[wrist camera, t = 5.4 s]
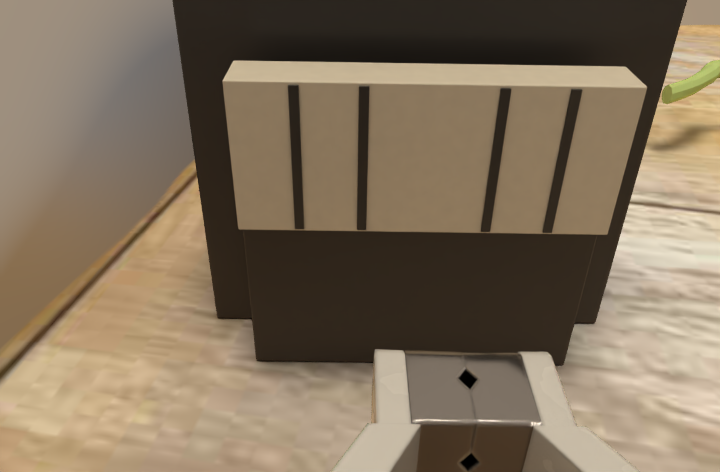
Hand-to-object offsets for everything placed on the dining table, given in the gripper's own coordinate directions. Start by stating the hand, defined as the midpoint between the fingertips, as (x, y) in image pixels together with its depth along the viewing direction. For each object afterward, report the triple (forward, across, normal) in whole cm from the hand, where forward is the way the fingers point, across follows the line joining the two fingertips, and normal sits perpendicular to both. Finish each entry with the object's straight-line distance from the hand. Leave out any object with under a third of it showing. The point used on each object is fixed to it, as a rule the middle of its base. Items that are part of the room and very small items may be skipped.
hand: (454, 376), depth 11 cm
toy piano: (+15, 0, -10) cm, 18 cm away
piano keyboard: (+10, 0, -3) cm, 11 cm away
